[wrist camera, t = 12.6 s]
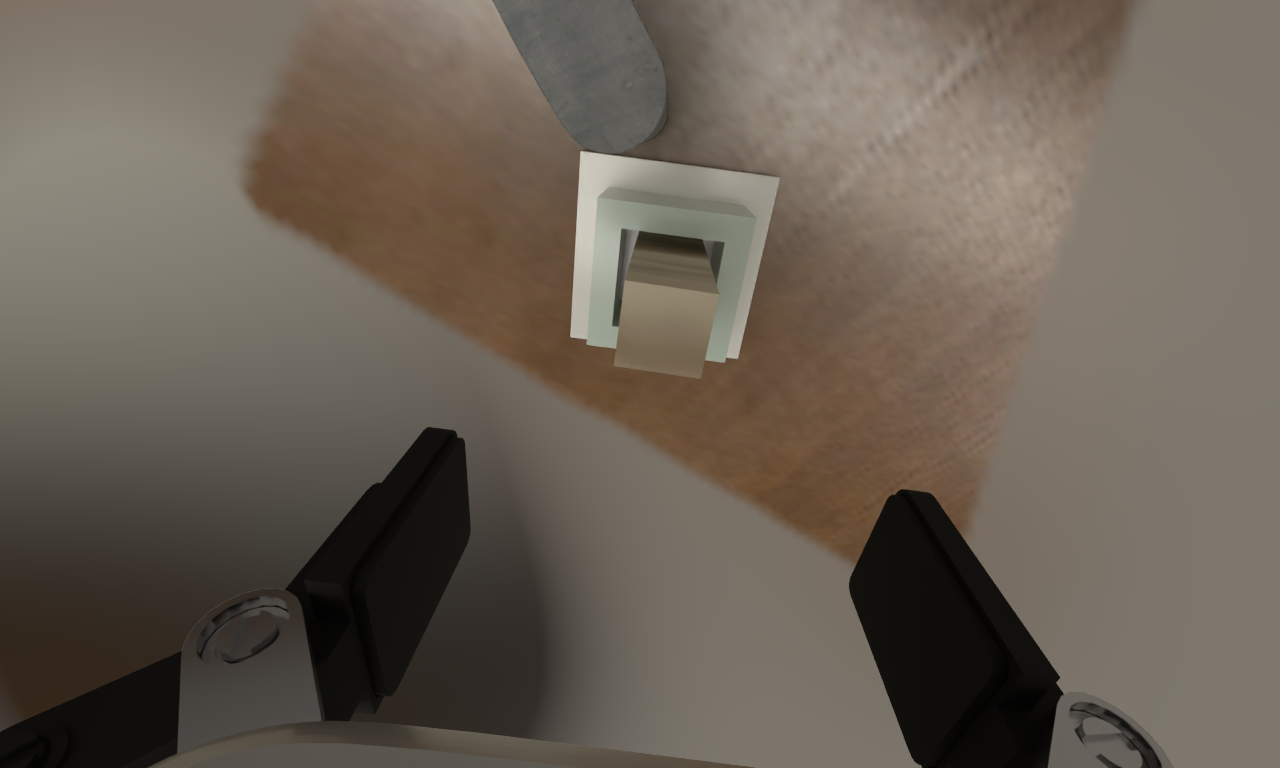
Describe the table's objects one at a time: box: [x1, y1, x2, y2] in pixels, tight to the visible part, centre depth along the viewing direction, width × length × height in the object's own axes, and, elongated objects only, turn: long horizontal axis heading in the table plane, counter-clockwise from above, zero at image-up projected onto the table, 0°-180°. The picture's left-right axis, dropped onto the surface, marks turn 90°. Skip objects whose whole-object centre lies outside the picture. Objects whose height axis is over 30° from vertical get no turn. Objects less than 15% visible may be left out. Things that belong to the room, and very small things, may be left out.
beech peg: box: [614, 231, 720, 379], centre depth 27 cm, size 4×4×12 cm
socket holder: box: [570, 151, 780, 363], centre depth 30 cm, size 12×12×6 cm
